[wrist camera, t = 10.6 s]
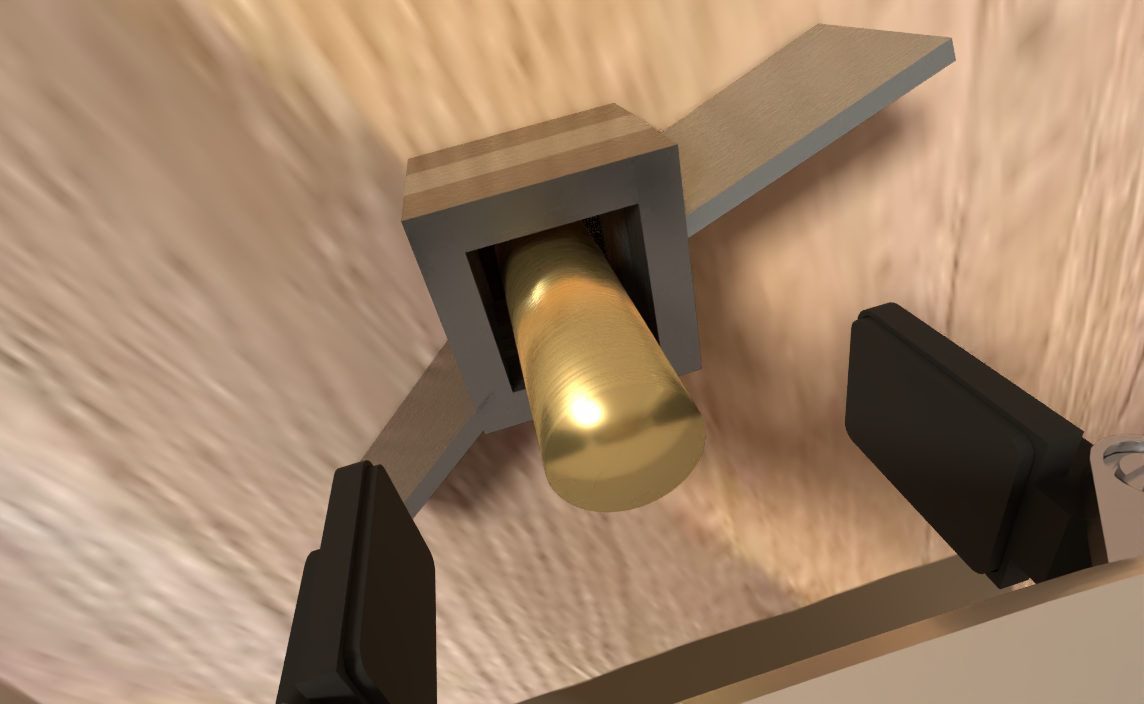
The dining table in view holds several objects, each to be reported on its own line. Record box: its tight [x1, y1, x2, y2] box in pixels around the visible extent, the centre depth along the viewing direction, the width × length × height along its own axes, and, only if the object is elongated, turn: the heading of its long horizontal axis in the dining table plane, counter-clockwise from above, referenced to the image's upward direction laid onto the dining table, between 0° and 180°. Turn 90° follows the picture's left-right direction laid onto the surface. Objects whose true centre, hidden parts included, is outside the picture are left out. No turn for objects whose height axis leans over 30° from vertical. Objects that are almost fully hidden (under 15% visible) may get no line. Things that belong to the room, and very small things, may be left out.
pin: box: [494, 220, 706, 512], centre depth 16 cm, size 3×3×12 cm
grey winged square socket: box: [360, 24, 956, 519], centre depth 20 cm, size 21×13×6 cm, turn 102°
